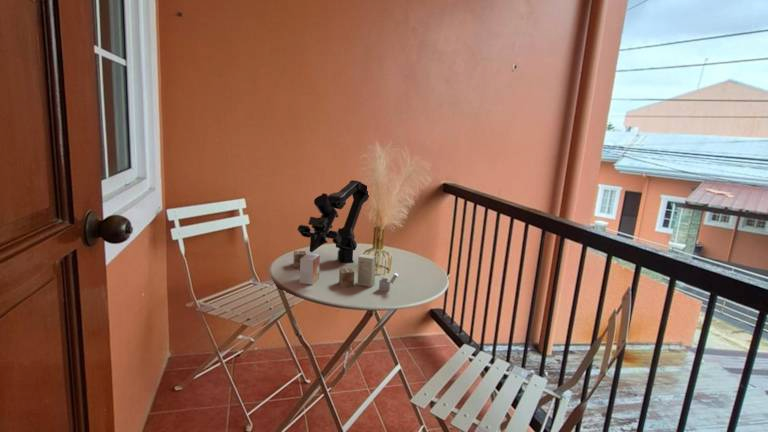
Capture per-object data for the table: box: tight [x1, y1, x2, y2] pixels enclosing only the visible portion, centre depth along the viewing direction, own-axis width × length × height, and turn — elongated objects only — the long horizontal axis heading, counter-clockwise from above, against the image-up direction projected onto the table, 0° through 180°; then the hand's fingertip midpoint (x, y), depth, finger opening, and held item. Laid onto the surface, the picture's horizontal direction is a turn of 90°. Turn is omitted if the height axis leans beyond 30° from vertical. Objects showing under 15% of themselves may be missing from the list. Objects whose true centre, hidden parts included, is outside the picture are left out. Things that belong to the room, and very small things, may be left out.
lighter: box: [378, 272, 399, 293], centre depth 157 cm, size 7×2×8 cm, turn 75°
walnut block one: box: [338, 267, 355, 288], centre depth 160 cm, size 5×5×6 cm
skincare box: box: [357, 253, 376, 288], centre depth 161 cm, size 6×4×12 cm
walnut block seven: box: [293, 250, 307, 269], centre depth 177 cm, size 5×5×6 cm
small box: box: [299, 252, 321, 285], centre depth 161 cm, size 8×6×10 cm
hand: (310, 251), depth 159 cm, fingers closed
